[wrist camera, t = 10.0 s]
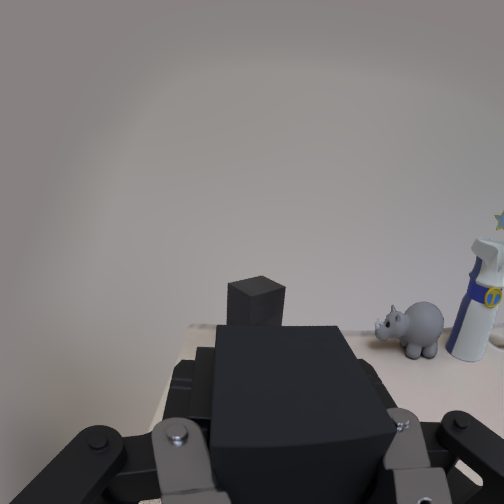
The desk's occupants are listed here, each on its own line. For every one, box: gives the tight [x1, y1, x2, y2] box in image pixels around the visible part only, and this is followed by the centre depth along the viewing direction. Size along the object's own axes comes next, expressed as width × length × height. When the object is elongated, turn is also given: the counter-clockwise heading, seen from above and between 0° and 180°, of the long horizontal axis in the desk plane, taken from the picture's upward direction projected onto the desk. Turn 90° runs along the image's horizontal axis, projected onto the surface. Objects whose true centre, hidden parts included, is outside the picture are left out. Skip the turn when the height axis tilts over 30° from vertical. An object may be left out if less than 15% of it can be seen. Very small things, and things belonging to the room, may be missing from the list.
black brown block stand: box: [227, 276, 286, 326], centre depth 42 cm, size 7×13×10 cm, turn 38°
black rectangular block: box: [210, 325, 397, 504], centre depth 9 cm, size 4×5×9 cm
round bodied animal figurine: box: [375, 302, 444, 359], centre depth 45 cm, size 7×12×8 cm, turn 83°
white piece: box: [446, 211, 504, 362], centre depth 41 cm, size 8×9×25 cm
